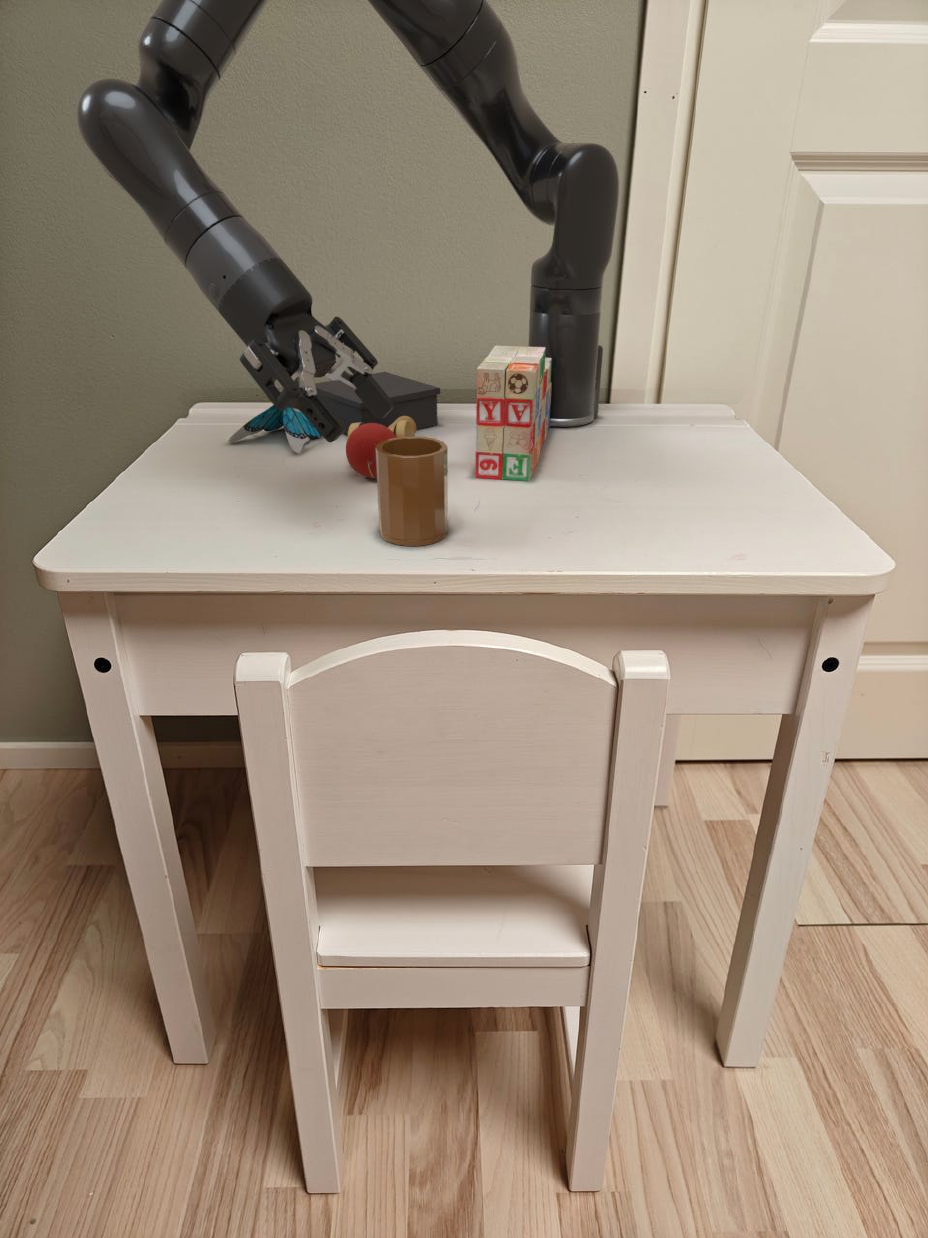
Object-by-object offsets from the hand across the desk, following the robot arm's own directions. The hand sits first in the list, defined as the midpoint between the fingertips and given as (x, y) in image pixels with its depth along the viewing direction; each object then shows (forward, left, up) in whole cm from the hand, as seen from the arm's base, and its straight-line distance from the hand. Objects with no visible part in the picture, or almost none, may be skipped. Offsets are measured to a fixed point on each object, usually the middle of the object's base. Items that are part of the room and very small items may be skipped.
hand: (364, 424), depth 80 cm
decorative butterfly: (-8, -31, -10) cm, 34 cm away
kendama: (-13, -16, -10) cm, 23 cm away
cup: (-2, +4, -10) cm, 11 cm away
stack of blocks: (-27, -8, -10) cm, 30 cm away
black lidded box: (-21, -30, -10) cm, 38 cm away
